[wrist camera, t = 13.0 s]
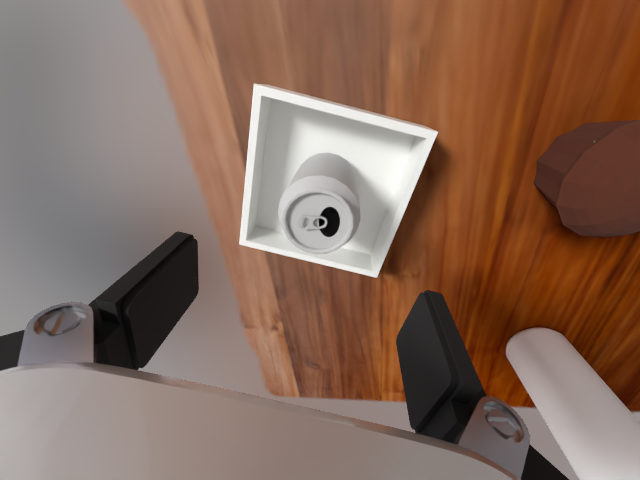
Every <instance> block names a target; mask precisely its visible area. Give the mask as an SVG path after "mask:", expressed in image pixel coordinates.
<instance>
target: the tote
mask: <svg viewBox="0 0 640 480" xmlns="http://www.w3.org/2000/svg"><path fill="white" fill-rule="evenodd" d="M437 133H438V132H437V131H435V130H433V129H431V128H429V127H427V126H424V125H420V124H416V123H412V122H409V121H405V120H401V119H397V118H393V117H389V116H386V115H382V114H378V113H374V112H370V111H367V110H363V109H359V108H355V107H351V106H347V105H344V104H340V103H336V102H332V101H328V100H325V99H321V98H317V97H313V96H309V95H305V94H302V93H298V92H294V91H290V90H286V89H283V88H279V87H275V86H271V85H266V84H254V88H253V99H252V110H251V121H250V132H249V143H248V154H247V165H246V176H245V187H244V198H243V209H242V220H241V231H240V242H239V244H240V245H244V246H248V247H252V248H256V249H260V250H265V251H269V252H273V253H277V254H281V255H285V256H289V257H294V258H298V259H302V260H306V261H310V262H314V263H318V264H322V265H327V266H331V267H335V268H339V269H343V270H347V271H351V272H356V273H360V274H364V275H368V276H372V277H376V278H377V276H378V274H379V271H380V269H381V267H382V264H383V262H384V259H385V257H386V255H387V252H388V250H389V248H390V245H391V243H392V240H393V238H394V236H395V233H396V231H397V229H398V226H399V224H400V221H401V219H402V217H403V214H404V212H405V210H406V207H407V205H408V202H409V200H410V198H411V195H412V193H413V190H414V188H415V186H416V183H417V181H418V179H419V176H420V174H421V171H422V169H423V167H424V164H425V162H426V160H427V157H428V155H429V152H430V150H431V148H432V145H433V143H434V141H435V138H436V136H437ZM318 153H332V154H336V155H339V156H341V157H342V158H344V159H345V160H347V161H348V162H349V164H350V165H351V166H352V167H353V169H354V171H355V174H356V177H357V184H358V193H359V202H360V217H361V220H360V223H359V227H358V230H357V232H356V233H355V235H354V236H353V237H352V239H351V240H350V241H349V242H347V243H346V244H345V245H343V246H342V247H341V248H339V249H338V250H336V251H333V252H330V253H327V254H313V253H308V252H305V251H303V250H301V249H299V248H297V247H296V246H295V245H294V244H292V243H291V242H290V241H289V240H288V238H287V236H286V234H285V233H284V231H283V229H282V227H281V225H280V222H279V216H278V208H279V202H280V199H281V197H282V196H283V194H284V192H285V190H286V189H287V187H288V185H289V184H290V182H291V180H292V179H293V177H294V175H295V174H296V172H297V170H298V169H299V167H300V166H301V164H302V163H303V162H304V161H305V160H306V159H308V158H309V157H311V156H313V155H315V154H318Z"/></svg>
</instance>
